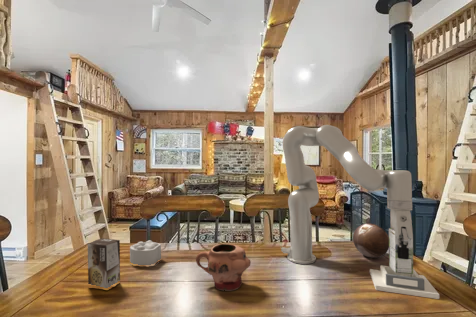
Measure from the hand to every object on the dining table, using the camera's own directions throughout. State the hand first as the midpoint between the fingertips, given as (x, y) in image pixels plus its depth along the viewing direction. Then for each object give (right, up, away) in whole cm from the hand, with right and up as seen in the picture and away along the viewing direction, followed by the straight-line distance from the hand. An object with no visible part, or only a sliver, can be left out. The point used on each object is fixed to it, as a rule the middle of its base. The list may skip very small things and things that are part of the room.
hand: (400, 254), depth 90 cm
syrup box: (0, -6, 0) cm, 6 cm away
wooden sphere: (+3, -11, +26) cm, 29 cm away
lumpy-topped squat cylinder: (-100, -12, +23) cm, 103 cm away
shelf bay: (0, -11, 0) cm, 11 cm away
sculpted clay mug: (-63, -12, +1) cm, 65 cm away
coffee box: (-107, -12, +2) cm, 108 cm away
